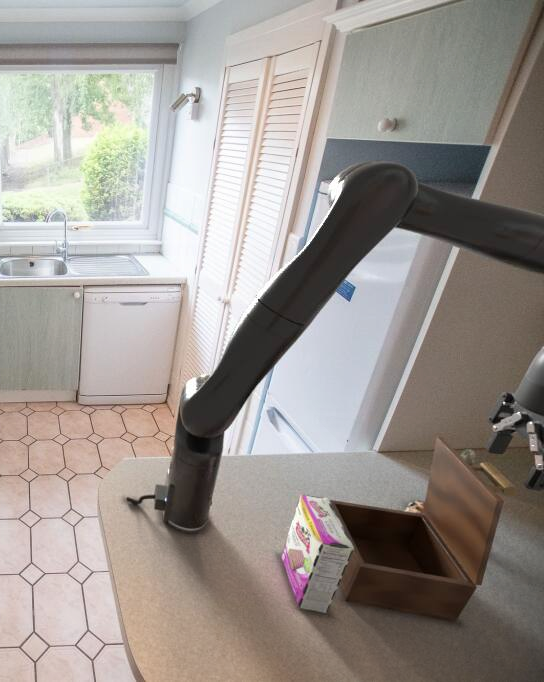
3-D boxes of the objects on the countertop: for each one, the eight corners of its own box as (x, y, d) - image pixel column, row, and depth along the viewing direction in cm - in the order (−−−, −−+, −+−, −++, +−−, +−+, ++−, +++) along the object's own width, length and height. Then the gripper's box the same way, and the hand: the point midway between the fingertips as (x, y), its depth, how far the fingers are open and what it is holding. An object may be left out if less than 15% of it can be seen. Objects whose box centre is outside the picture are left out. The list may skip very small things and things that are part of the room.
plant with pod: (470, 527, 95) (513, 451, 87) (425, 535, 93) (465, 458, 85) (433, 499, 103) (469, 426, 94) (391, 506, 101) (424, 432, 92)
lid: (497, 501, 66) (545, 501, 65) (436, 436, 80) (475, 436, 79) (475, 585, 73) (519, 587, 71) (422, 512, 87) (458, 513, 85)
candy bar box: (278, 556, 89) (299, 492, 82) (306, 560, 88) (329, 496, 81) (296, 609, 79) (322, 542, 72) (328, 615, 78) (357, 548, 71)
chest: (345, 601, 80) (361, 566, 77) (316, 531, 94) (328, 499, 91) (455, 622, 77) (477, 587, 73) (408, 546, 91) (424, 514, 87)
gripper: (498, 356, 72) (457, 439, 79) (572, 404, 59) (516, 497, 66) (555, 361, 71) (508, 445, 77) (643, 411, 58) (578, 506, 65)
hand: (512, 469), depth 72 cm, fingers open, 8 cm apart
